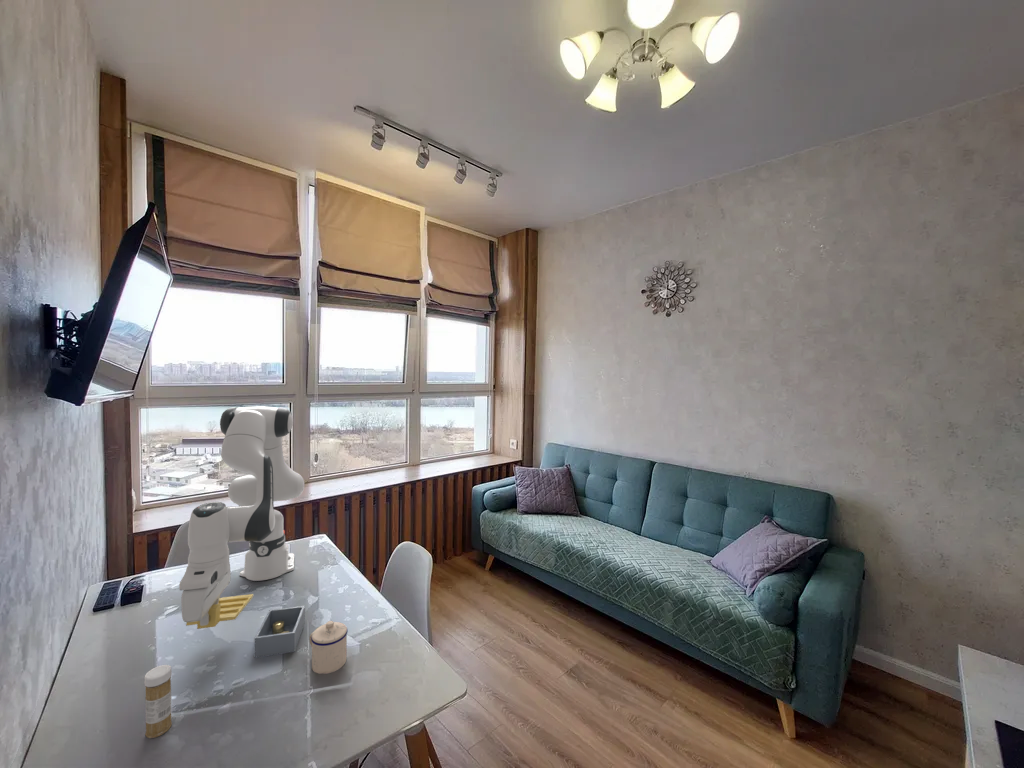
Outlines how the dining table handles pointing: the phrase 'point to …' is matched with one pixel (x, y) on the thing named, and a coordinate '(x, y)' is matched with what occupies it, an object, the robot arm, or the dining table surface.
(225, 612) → the yellow flat ridged piece
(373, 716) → the dining table surface
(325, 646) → the teacup with lid
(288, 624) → the tub
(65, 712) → the dining table surface
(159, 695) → the sprinkles bottle
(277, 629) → the ball
